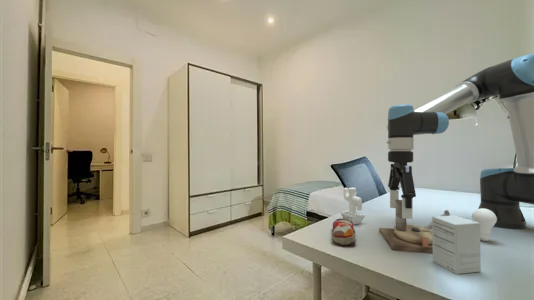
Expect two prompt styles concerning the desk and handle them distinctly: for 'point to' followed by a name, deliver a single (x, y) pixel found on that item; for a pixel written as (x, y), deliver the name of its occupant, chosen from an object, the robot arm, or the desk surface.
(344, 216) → the figurine
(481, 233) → the lightbulb
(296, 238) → the desk surface
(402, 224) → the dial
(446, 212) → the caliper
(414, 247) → the stand
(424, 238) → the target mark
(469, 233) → the supplement box
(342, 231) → the pencil case
